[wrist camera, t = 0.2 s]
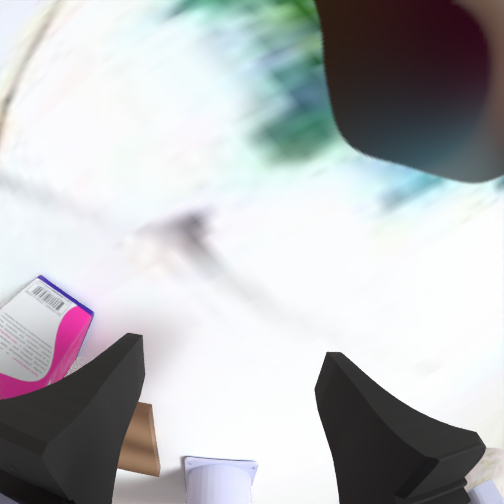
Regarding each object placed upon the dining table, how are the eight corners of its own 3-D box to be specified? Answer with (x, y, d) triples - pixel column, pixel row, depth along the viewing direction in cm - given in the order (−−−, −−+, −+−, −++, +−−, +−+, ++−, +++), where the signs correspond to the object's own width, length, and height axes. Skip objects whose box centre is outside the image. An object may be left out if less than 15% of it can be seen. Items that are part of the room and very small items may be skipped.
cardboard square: (161, 464, 29) (158, 476, 27) (70, 442, 28) (66, 453, 26) (152, 400, 25) (148, 415, 23) (44, 374, 24) (36, 386, 22)
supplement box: (27, 322, 22) (-43, 401, 11) (40, 272, 20) (-50, 349, 9) (77, 358, 23) (22, 453, 12) (97, 312, 22) (26, 415, 11)
